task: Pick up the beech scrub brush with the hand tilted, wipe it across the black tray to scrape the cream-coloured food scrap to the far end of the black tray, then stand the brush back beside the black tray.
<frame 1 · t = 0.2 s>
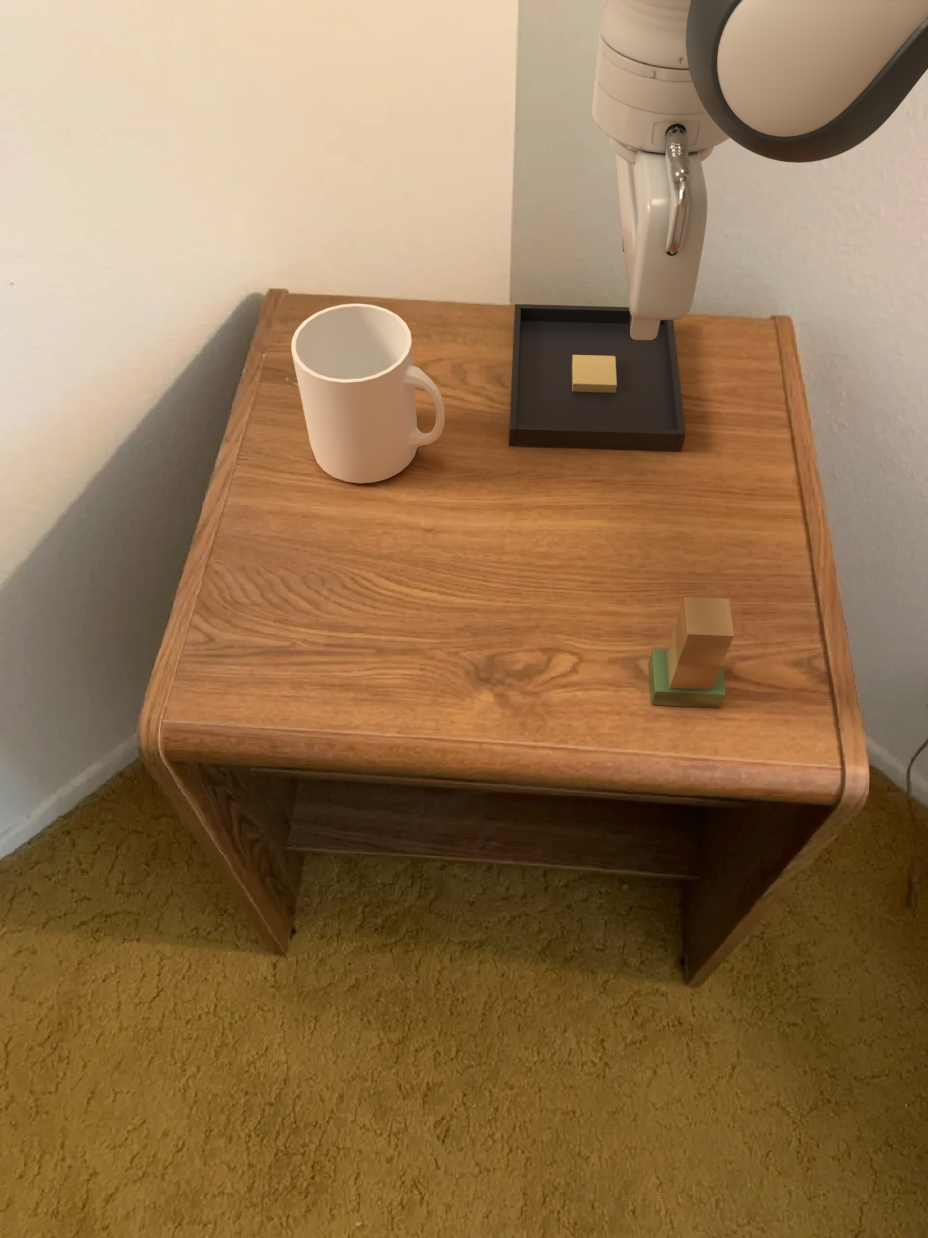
hand: (637, 289, 65), 18 cm above the table, tool pointing down, fingers open, 8 cm apart
scrub brush: (683, 685, 68), on the table
black tray: (592, 382, 87), on the table
mug: (380, 450, 82), on the table
food scrap: (593, 377, 86), point 1 cm above the table, touching black tray
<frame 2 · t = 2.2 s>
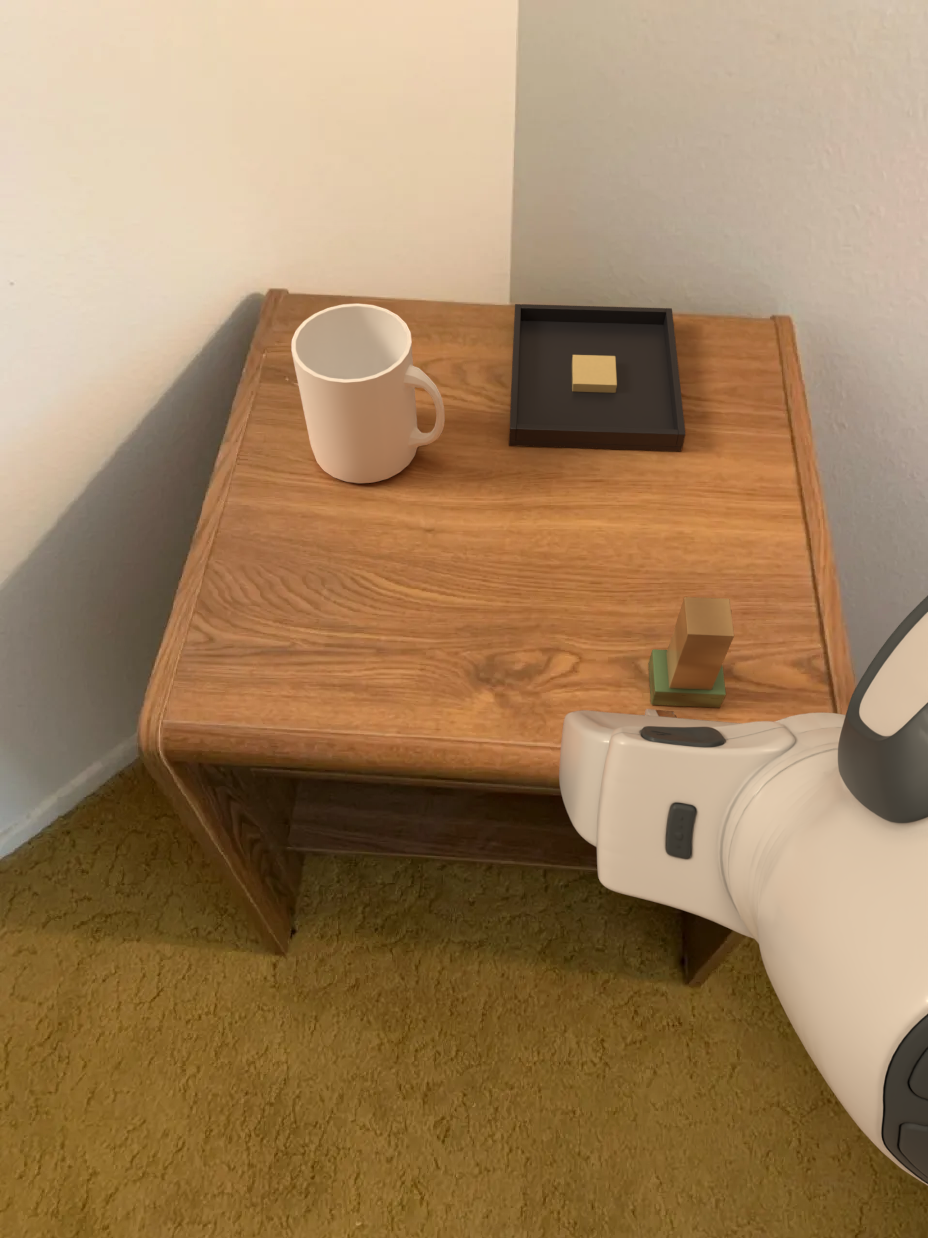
hand: (746, 731, 49), 15 cm above the table, tool tilted 45°, fingers open, 8 cm apart
nothing on the table moved.
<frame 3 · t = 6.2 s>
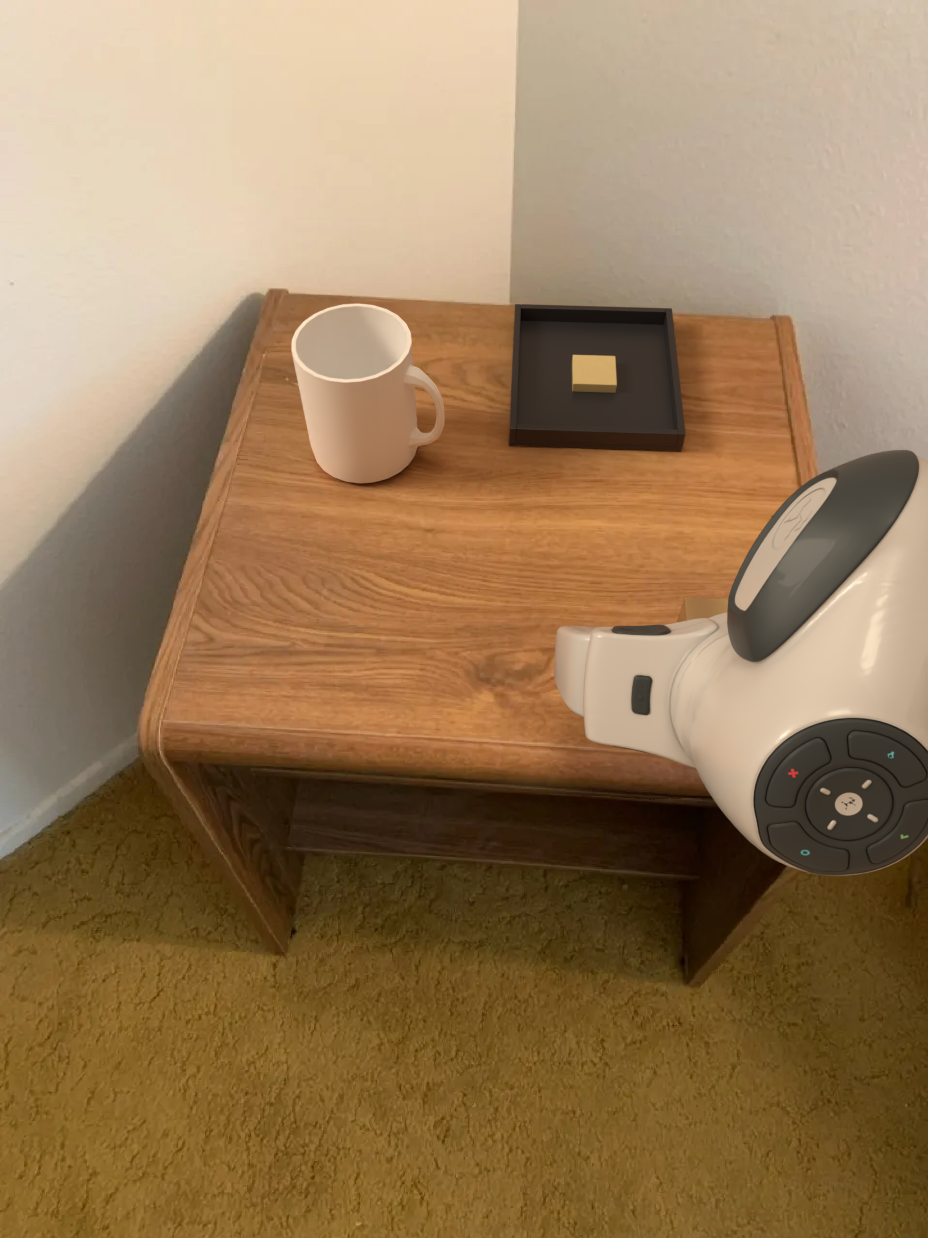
hand: (695, 642, 64), 5 cm above the table, tool tilted 45°, fingers closed on scrub brush, 3 cm apart
scrub brush: (683, 685, 68), on the table, touching gripper
everything else where it was.
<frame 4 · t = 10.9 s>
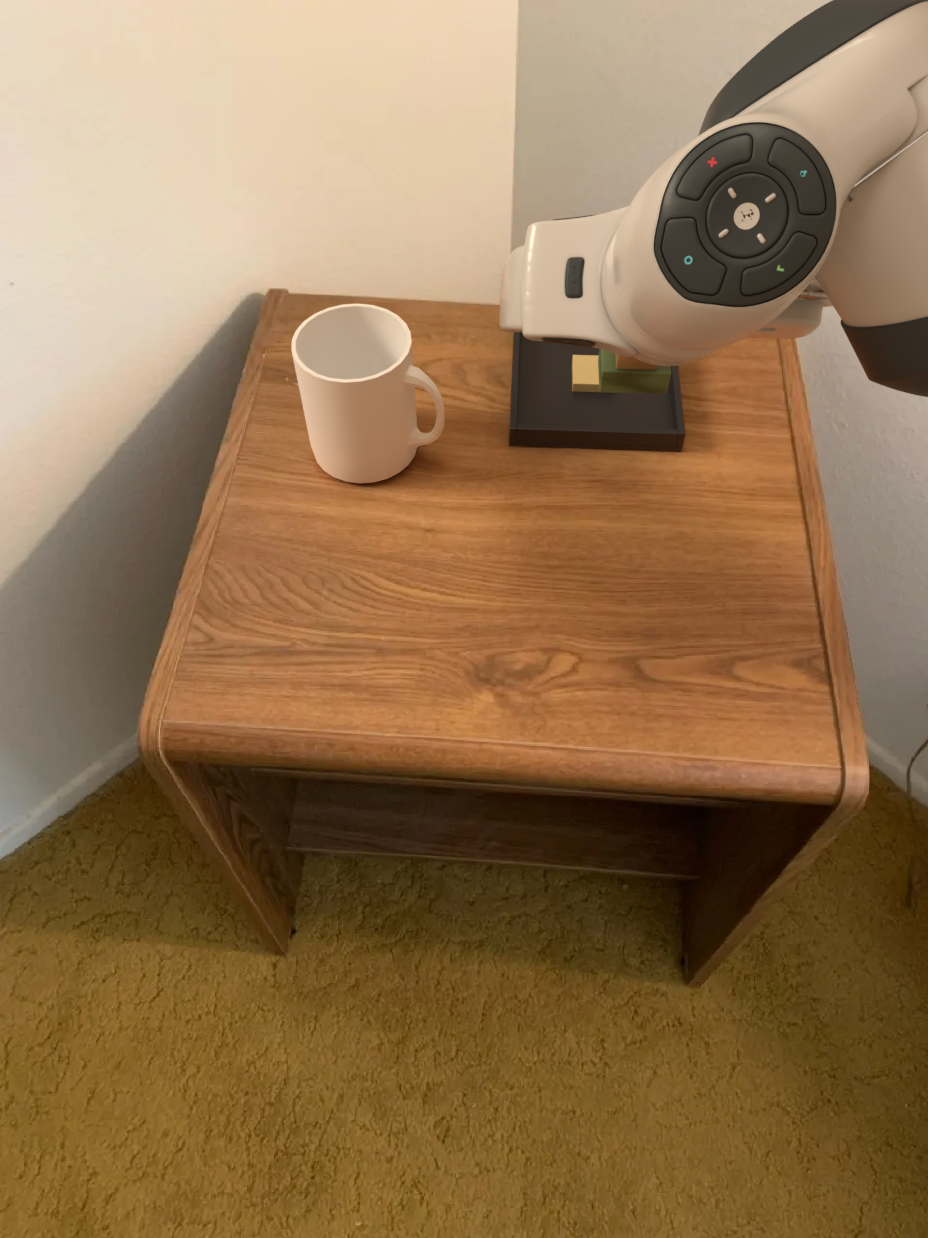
hand: (640, 317, 66), 17 cm above the table, tool tilted 45°, fingers closed on scrub brush, 3 cm apart
scrub brush: (631, 377, 70), point 12 cm above the table, touching gripper
everything else where it was.
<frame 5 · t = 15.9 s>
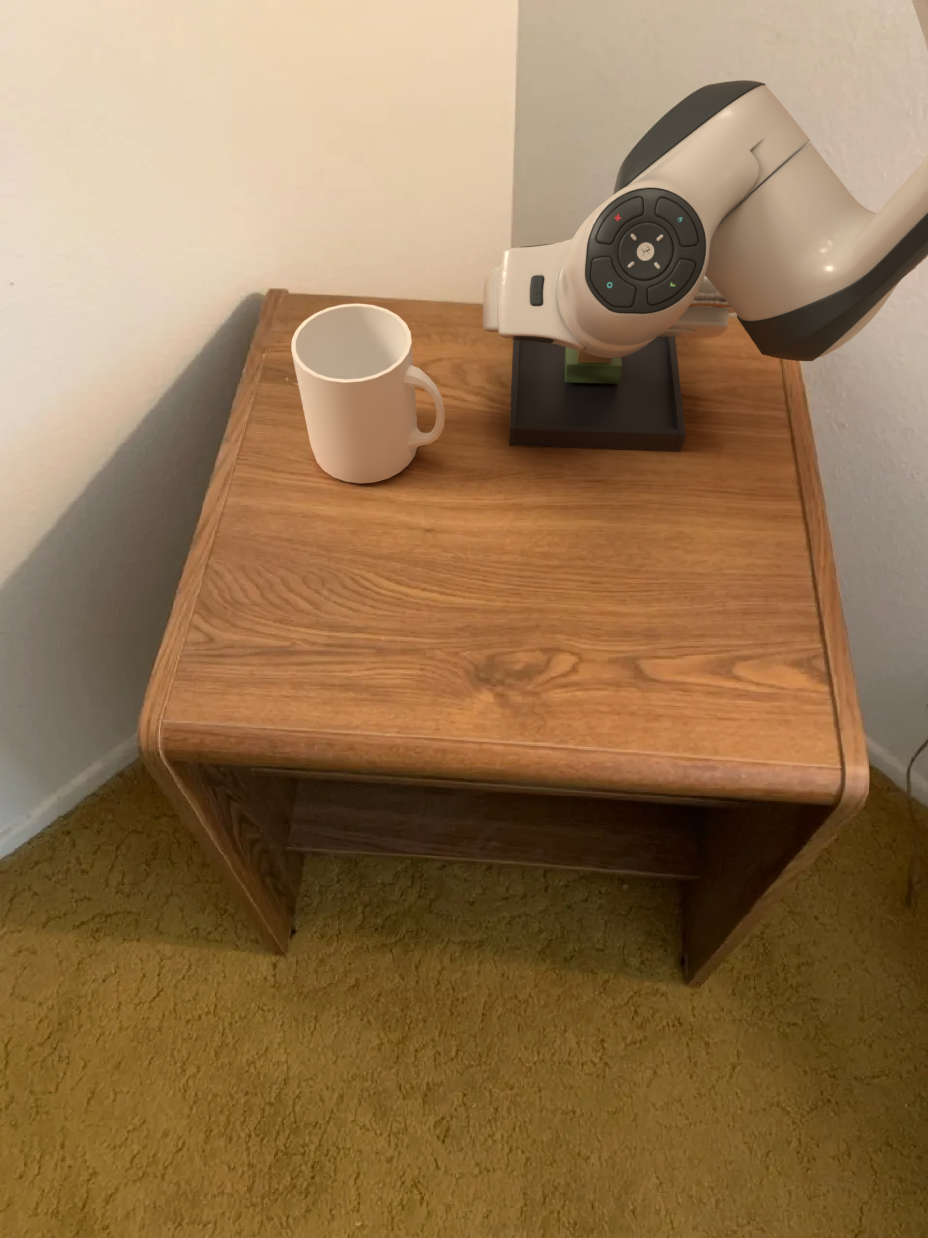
hand: (595, 320, 83), 6 cm above the table, tool tilted 45°, fingers closed on scrub brush, 3 cm apart
scrub brush: (591, 371, 86), point 1 cm above the table, tilted 6°, touching food scrap, gripper
food scrap: (591, 346, 89), point 1 cm above the table, touching black tray, scrub brush
everything else where it was.
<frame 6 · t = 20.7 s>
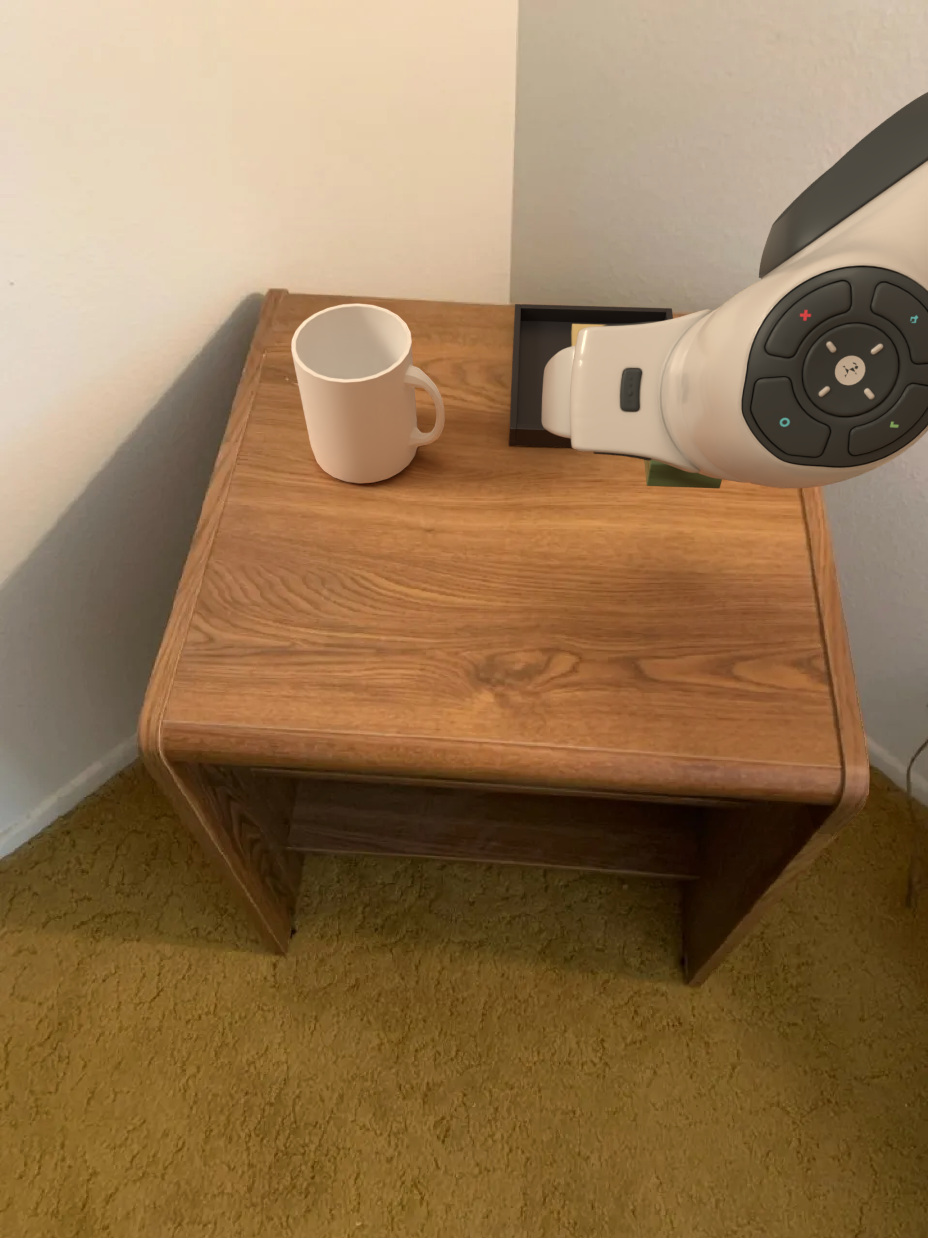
hand: (691, 406, 61), 16 cm above the table, tool tilted 45°, fingers closed on scrub brush, 3 cm apart
scrub brush: (680, 470, 64), point 12 cm above the table, tilted 6°, touching gripper
food scrap: (592, 345, 89), point 1 cm above the table, touching black tray
everything else where it was.
when the fingers open (5 cm above the table, at t = 25.3 s): scrub brush stays where it is, on the table.
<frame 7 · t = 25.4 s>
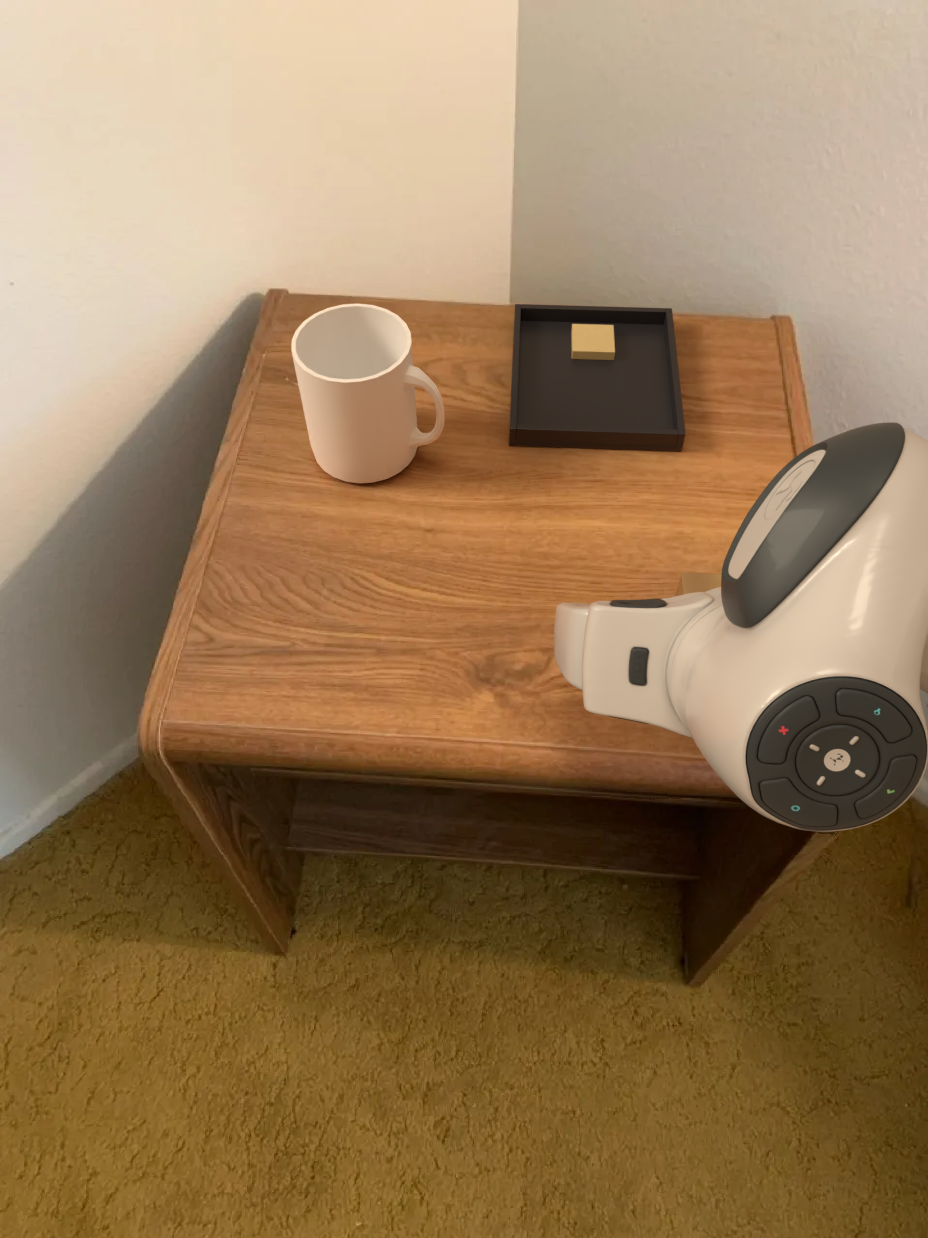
hand: (692, 620, 66), 5 cm above the table, tool tilted 45°, fingers open, 3 cm apart
scrub brush: (682, 670, 69), on the table, tilted 5°
everything else where it was.
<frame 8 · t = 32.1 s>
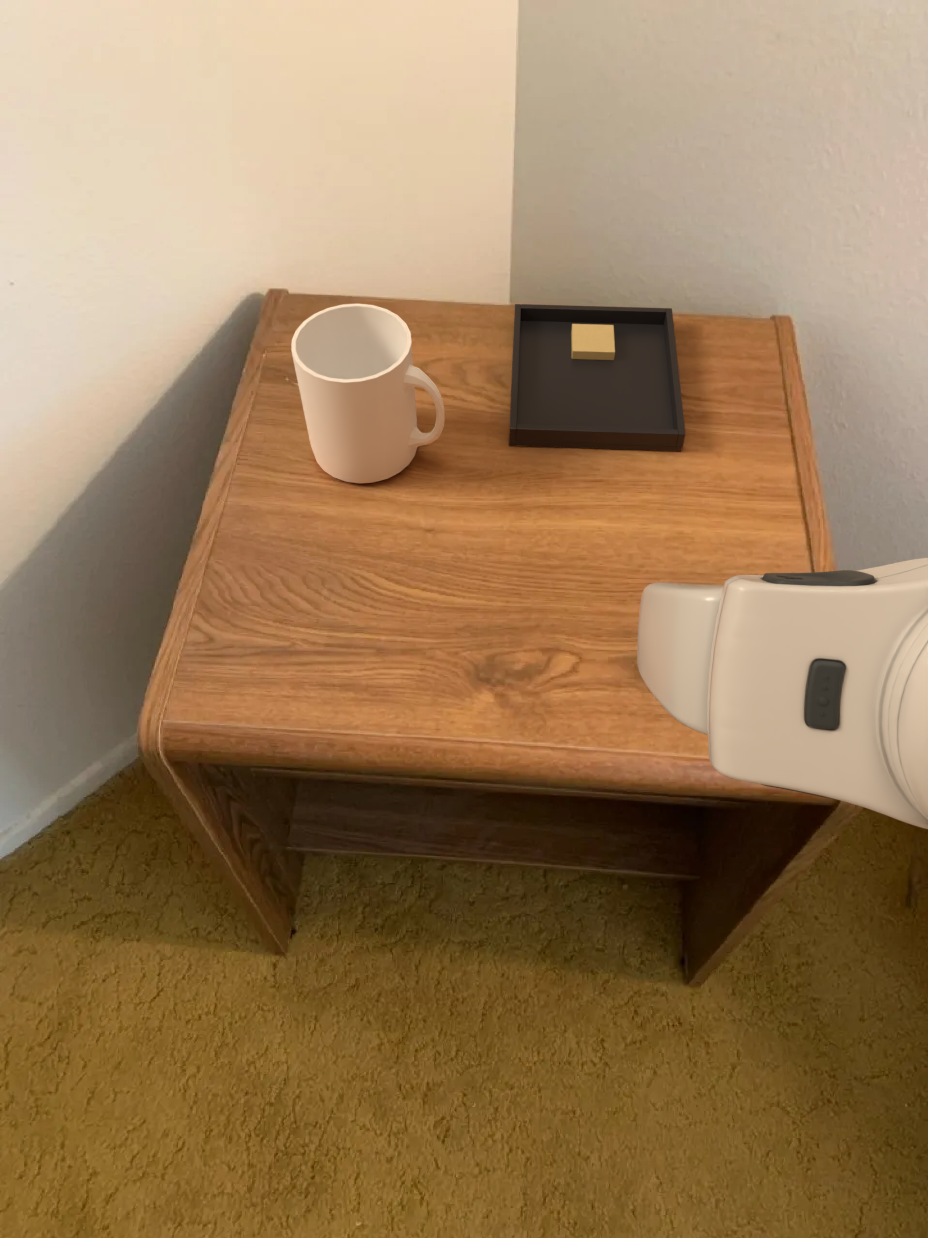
hand: (843, 613, 42), 24 cm above the table, tool tilted 45°, fingers open, 8 cm apart
scrub brush: (681, 671, 69), on the table
everything else where it was.
at the end: food scrap 1.2 cm from the target spot in the black tray, point 0.6 cm above the black tray's base; food scrap moved 4.5 cm from its start; scrub brush tilted 0° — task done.
